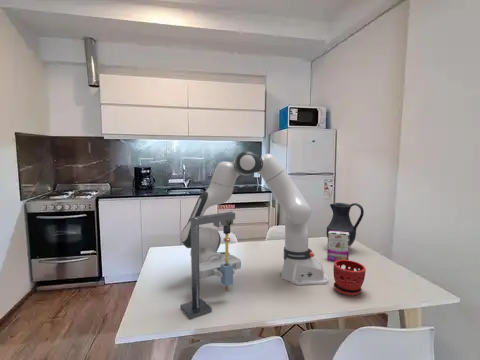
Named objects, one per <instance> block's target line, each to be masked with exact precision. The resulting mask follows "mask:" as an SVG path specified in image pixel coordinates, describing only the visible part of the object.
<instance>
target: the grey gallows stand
mask: <svg viewBox="0 0 480 360" xmlns="http://www.w3.org/2000/svg"><path fill="white" fill-rule="evenodd" d="M234 220H236V213H235V212H233V211H227V212H220V213H214V214H213V213H212V214H205V215H203V216H197V217H191V248H190V251H191V255H190V261H191V263H190V264H191V270H190V271H191V272H190V273H191V301H188V302H184V303H181V304H180V307H179V308H180V310H181V311H182V312H183V314H185V315H186V317H187V318H188V319H189V320H193V319H195V318H200V317H201V316H204V315H207V314H210V313H212V312H213V308H212V307H211V306H210V305H209V304H208V303H207V302H206V301H205V300H203V298H201V296H200V295H201V292H200V291H201V290H200V281H201V280H200V279H201V278H200V277H199V227H200V225H207V224H213V226H215V227H216V228H219V227H220V225H221V226H223V227H222V229H223V234H224V236H225V237H224V238H223V242H225V243H224V244H225V248H224V249H225V251H224V252H225V266H228V252H229V242H230V241H231V238H230V237H229V234H231V225H234ZM224 287H225V290H224V291H225V292H229V285H228V286H224Z"/></svg>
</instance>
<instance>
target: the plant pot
mask: <svg viewBox="0 0 480 360" xmlns="http://www.w3.org/2000/svg"><path fill="white" fill-rule="evenodd" d="M343 266H345V268H342V267H343ZM366 269H367V268H366V267H365V265H363V264H362V263H360V262H357V261H355V260H337V261H335V262H333V269H332V270H333V279H334V282H333V288H334V289H335V291H337V292H338V293H340V294H342V295H345V296H358V295H359V294H360V293H361V292H362V286H363V284H364V283H365V282H364V281H365V278H366Z"/></svg>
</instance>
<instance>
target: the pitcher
mask: <svg viewBox="0 0 480 360" xmlns="http://www.w3.org/2000/svg"><path fill="white" fill-rule="evenodd" d="M353 206H356V207H358V208H359V210H360V215H359V217H358V218H357V221H356V222H355V224H354V225H353V223H352V221H351V218H350V211H351V208H352V207H353ZM329 207H330V208H331V211H332V213H333V215H332V216H331V220H330V222H329V224H328V225H327V226H326V238H327V239H328V232H329V231H340V232H349V248H350V247H351V246H352V245H353V244H354V242H355V240H356V236H357V229H358V226H359V224H360V223H361V221H362V220H363V218H364V217H363V216H364V207H363V206H362V205H361V204H359V203H355V202H354V203H345V202H334V203H331V204H329Z"/></svg>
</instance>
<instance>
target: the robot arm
mask: <svg viewBox="0 0 480 360" xmlns="http://www.w3.org/2000/svg"><path fill="white" fill-rule="evenodd" d="M255 173H257V174H258V175H259V176H260V177H261V178H262V179H263V181H264V183H265V184H266V186H267V187H268V188H269V190H270V191H271V193H272V194H273V196H274V197H275V199H276V201H277V203H278V204H279V206H280V207H281V209H282V210H283V212H284V247H283V264H282V270H281V272H280V277H281V278H282V279H284V280H285V281H288V282H290V283H292V285H293V284H294V285H296V286H302V285H303V286H304V285H305V286H307V285H309V286H310V285H327V284H328V283H329V276H328V274H327V273H326V272H325V271H324V268H323V265H322V264H321V262H320V261H319V260H317V259H316V258H315V253H314V252H313V251H312V249H311V248H309V223H308V222H309V220H310V218H311V213H312V210H311V207H310V205H309V204H308V202H307V200H306V198H305V197H304V196H303V195H302V193H301V192H300V190H299V188H298V186H297V185H296V183H295V182H294V181H293V179H292V178H291V176H290V175H289V173H288V172H287V171H286V169H285V167H284V166H283V165H282V163H281V162H280V161H279V160H278V159H277V158H276V157H275V156H274V155H273V154H271V153H265V154H262V155H259V154H257V153H255V152H253V151H250V150H244V151H241V152H240V153H239V154H237V155H236V156H235V158H234V160H233V161H227V160H226V161H225V160H224V161H220V162H218V164H217V165H216V167H215V169H214V172H213V174H212V177H211V181H210V184H209V186H208V187H207V189H206V190H204V192H201V194H200V195H199V197H198V199H197V201H196V203H195V205H194V207H193V210H192V211H191V214H190V216H189V218H188V220H187V223H186V224H185V226H184V227H183V229H182V231H181V233H180V241H181V243H182V245H183V246H184V247H185V248H186V249H191V217H197V216H204V214H205V213H206V211H207V210H208V209H209V208H210V207H214V206H218V205H221V204H224V203H226V202H228V201H229V200H230V199H231V197H232V195H233V192H234V188H235V184H236V180H237V179H238V177H239V176H250V175H253V174H255ZM221 239H222V237H221V233H220V232H219V231H218V230H217V229H216V228H211V227H203V226H202V227H201V226H199V277H200V279H203V280H204V279H206V278H210V277H214V276H215V277H219V278H221V277H224V272H222V271H221V264H224V263H225V251H222V252H219V251H218V250H219V249H220V246H221V242H222V240H221ZM189 254H190V256H191V250H190V253H189ZM228 263H230V264H232V265H233V275H234V274H235V273H236V271H237V270H239V269H241V268H242V260H241V259H240V258H239V257H237V256H235V255H232V254H231V253H230V252H229V251H228ZM235 270H236V271H235Z"/></svg>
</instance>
